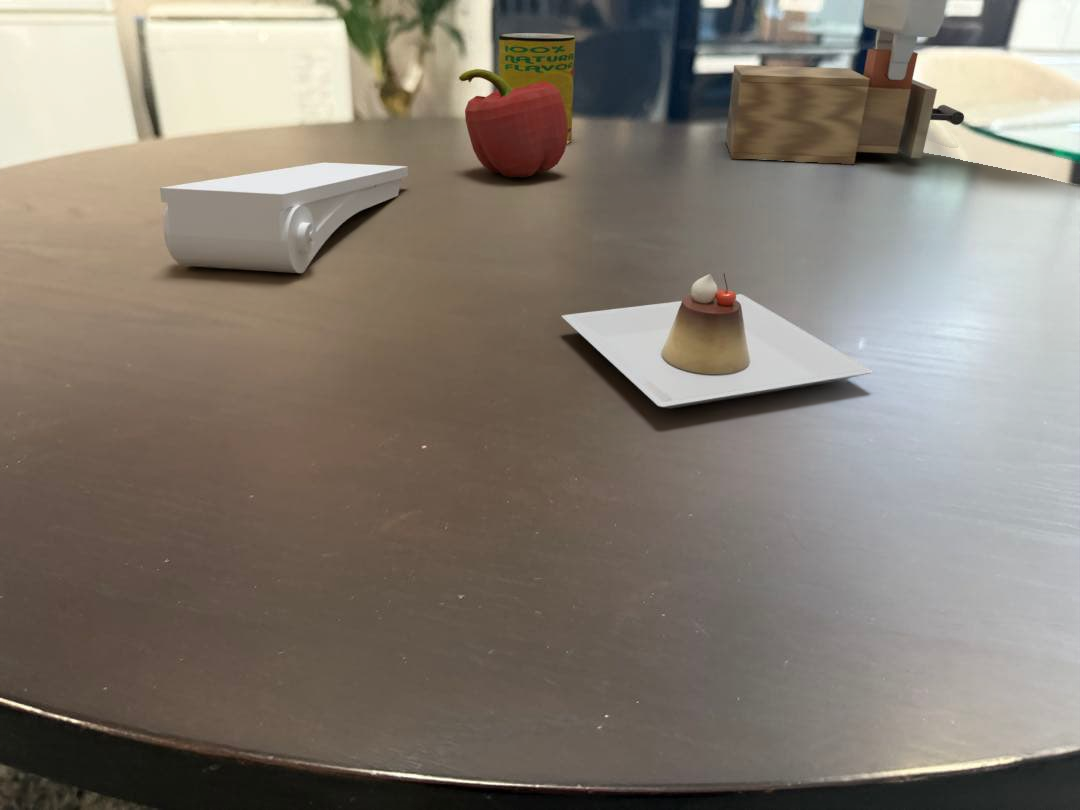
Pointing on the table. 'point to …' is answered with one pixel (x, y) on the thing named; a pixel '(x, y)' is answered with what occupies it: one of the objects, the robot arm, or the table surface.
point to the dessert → (711, 348)
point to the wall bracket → (270, 214)
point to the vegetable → (516, 126)
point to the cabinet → (796, 113)
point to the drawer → (901, 119)
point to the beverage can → (539, 63)
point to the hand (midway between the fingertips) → (888, 76)
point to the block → (878, 67)
